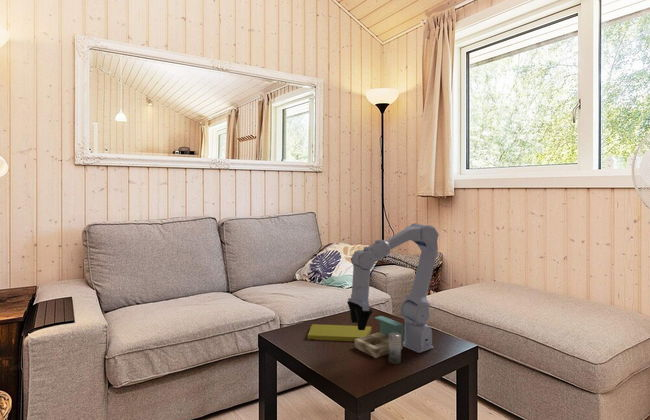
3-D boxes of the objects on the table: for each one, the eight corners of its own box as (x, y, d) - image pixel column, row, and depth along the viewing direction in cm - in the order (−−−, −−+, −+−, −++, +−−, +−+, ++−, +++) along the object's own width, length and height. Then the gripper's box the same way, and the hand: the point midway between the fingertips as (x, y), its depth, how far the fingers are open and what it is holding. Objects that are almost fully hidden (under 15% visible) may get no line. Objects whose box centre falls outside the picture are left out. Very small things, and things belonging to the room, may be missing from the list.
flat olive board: (307, 340, 150) (371, 343, 148) (307, 335, 150) (371, 337, 148) (312, 329, 162) (371, 331, 160) (312, 324, 162) (371, 326, 160)
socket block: (402, 349, 141) (402, 340, 141) (375, 358, 134) (375, 349, 134) (381, 339, 150) (381, 331, 150) (354, 347, 143) (354, 339, 143)
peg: (403, 361, 131) (403, 335, 130) (394, 365, 128) (395, 337, 128) (394, 357, 134) (395, 331, 134) (386, 360, 132) (386, 334, 131)
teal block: (402, 340, 141) (403, 323, 141) (395, 342, 139) (396, 325, 139) (381, 331, 150) (381, 315, 150) (374, 333, 148) (374, 317, 148)
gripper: (343, 281, 141) (341, 319, 141) (355, 291, 126) (352, 333, 127) (362, 281, 142) (360, 319, 142) (376, 291, 128) (373, 333, 128)
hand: (358, 326), depth 135 cm, fingers open, 7 cm apart
